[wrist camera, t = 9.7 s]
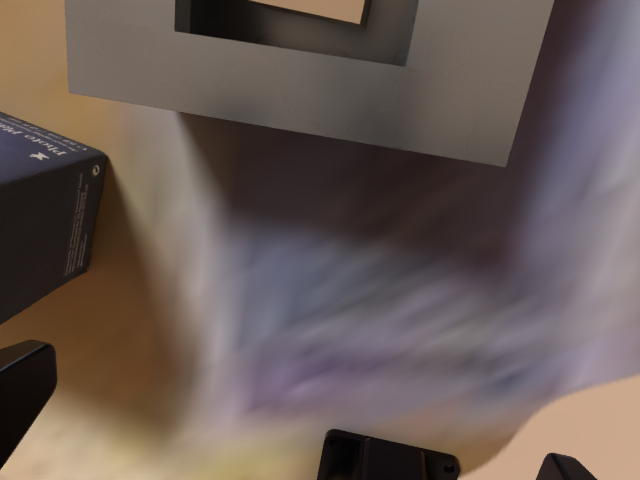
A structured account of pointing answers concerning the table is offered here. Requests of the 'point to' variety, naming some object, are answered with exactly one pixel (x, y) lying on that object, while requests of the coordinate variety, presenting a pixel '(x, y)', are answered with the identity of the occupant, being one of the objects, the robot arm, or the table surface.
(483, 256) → the table surface
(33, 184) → the small box
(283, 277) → the table surface
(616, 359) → the table surface
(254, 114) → the grey slotted block
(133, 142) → the table surface
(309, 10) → the tan rectangular block
